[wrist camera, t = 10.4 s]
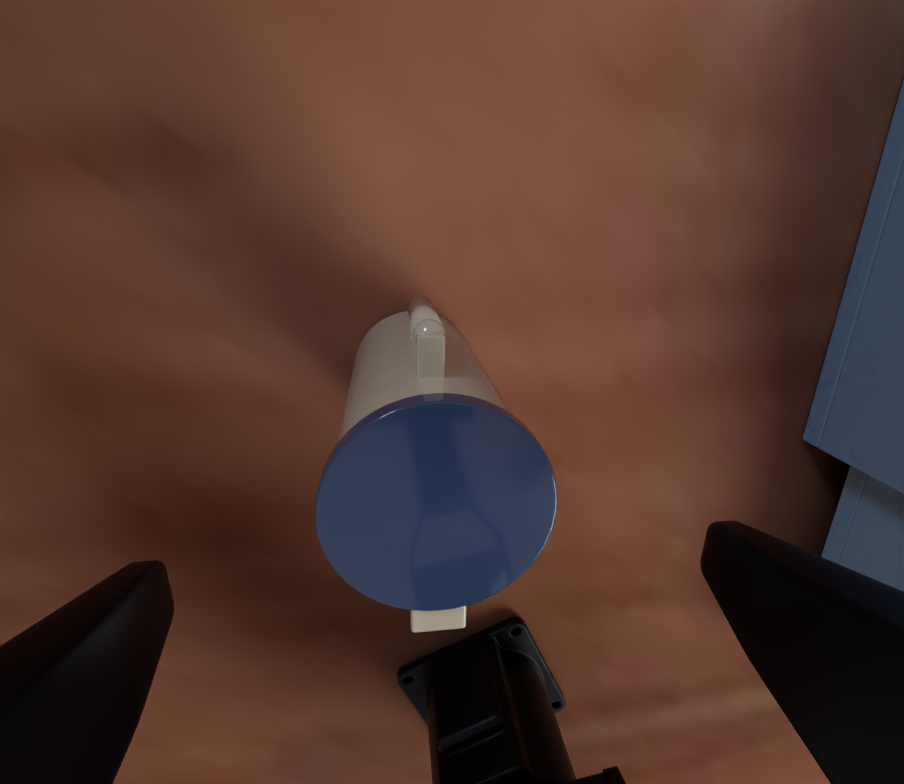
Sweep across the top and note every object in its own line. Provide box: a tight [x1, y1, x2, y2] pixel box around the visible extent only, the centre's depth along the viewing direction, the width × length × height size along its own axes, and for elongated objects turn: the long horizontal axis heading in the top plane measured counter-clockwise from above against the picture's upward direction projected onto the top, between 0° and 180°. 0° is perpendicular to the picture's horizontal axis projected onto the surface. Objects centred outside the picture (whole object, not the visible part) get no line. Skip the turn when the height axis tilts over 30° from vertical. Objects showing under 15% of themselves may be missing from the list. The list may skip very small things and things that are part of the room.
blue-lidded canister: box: [314, 295, 557, 633], centre depth 14 cm, size 6×5×10 cm
